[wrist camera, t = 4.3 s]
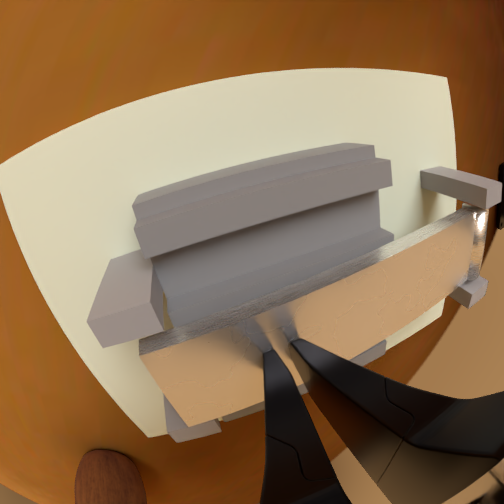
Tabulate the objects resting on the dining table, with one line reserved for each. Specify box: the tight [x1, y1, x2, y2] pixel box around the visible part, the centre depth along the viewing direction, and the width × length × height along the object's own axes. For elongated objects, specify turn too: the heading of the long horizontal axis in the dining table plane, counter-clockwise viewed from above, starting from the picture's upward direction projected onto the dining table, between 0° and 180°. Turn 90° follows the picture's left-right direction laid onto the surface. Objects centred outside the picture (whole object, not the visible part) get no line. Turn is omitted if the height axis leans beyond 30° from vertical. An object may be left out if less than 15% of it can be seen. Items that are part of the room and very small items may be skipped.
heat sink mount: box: [0, 68, 502, 443], centre depth 12 cm, size 24×18×6 cm
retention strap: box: [139, 202, 489, 427], centre depth 10 cm, size 17×4×2 cm, turn 102°
